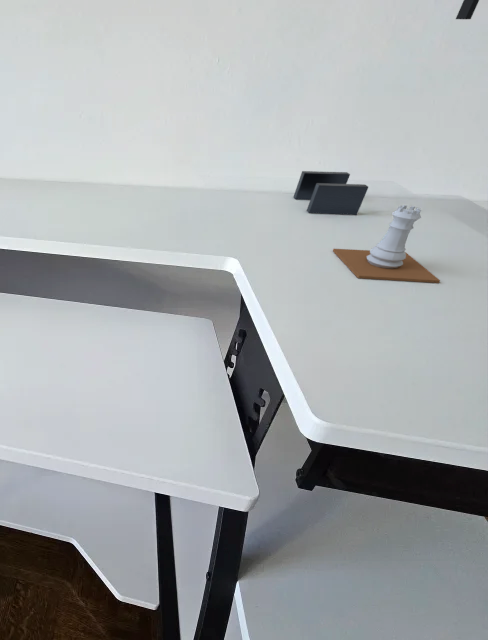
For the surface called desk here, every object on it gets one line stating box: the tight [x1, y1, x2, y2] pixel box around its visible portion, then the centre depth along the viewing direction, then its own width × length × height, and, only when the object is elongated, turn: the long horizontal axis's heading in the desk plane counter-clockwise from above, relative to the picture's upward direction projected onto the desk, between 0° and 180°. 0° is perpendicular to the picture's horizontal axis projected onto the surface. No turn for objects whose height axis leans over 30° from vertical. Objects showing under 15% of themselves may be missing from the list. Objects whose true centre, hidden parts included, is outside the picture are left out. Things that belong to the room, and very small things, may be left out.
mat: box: [332, 248, 441, 284], centre depth 72 cm, size 10×10×1 cm
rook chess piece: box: [367, 204, 422, 269], centre depth 69 cm, size 4×4×8 cm
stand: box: [293, 170, 369, 216], centre depth 93 cm, size 8×10×5 cm
